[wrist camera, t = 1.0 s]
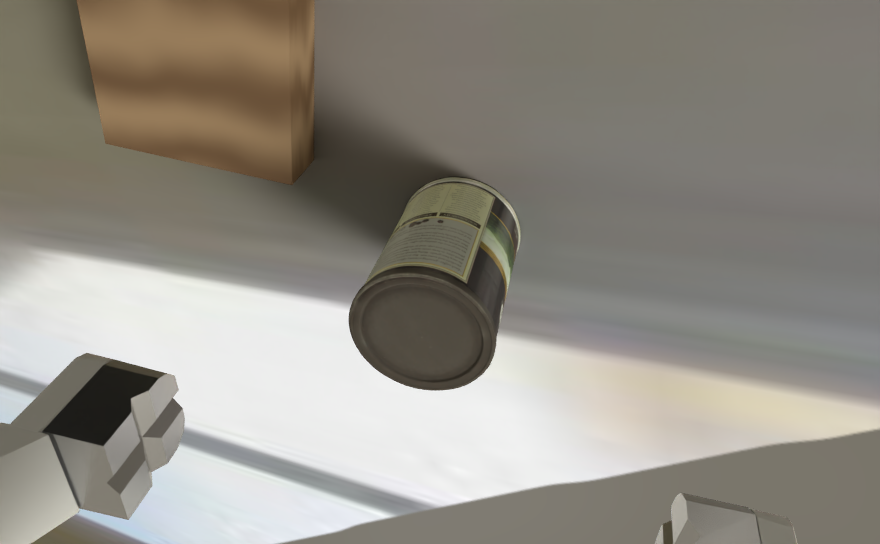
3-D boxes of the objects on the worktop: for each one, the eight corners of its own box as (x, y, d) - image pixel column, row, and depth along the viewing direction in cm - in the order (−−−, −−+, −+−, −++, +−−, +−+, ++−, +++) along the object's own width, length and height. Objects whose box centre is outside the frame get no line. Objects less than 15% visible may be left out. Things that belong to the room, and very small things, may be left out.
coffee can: (547, 227, 54) (526, 338, 43) (472, 298, 60) (437, 412, 49) (447, 150, 52) (398, 246, 41) (380, 232, 58) (322, 335, 47)
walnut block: (112, -56, 49) (67, -43, 45) (316, -18, 48) (288, -1, 44) (141, 119, 58) (105, 143, 54) (315, 157, 56) (292, 185, 52)
